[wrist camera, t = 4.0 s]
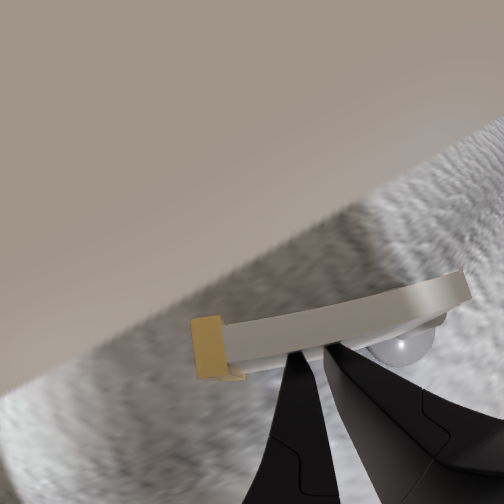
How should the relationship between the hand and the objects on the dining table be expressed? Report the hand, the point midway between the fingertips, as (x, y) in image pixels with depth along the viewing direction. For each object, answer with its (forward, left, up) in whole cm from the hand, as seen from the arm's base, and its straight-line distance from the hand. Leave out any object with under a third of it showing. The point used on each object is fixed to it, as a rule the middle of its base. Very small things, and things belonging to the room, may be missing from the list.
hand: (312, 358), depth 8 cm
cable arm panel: (-2, -2, -6) cm, 7 cm away
